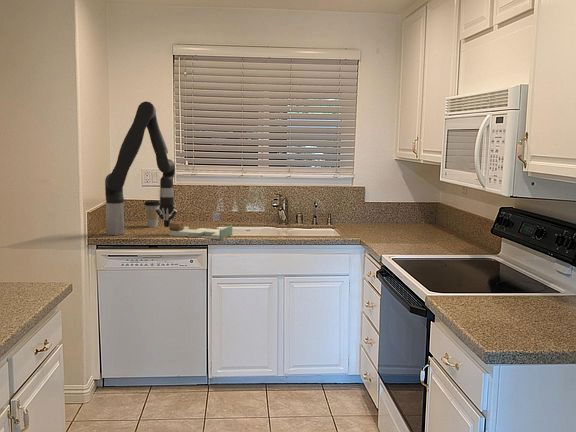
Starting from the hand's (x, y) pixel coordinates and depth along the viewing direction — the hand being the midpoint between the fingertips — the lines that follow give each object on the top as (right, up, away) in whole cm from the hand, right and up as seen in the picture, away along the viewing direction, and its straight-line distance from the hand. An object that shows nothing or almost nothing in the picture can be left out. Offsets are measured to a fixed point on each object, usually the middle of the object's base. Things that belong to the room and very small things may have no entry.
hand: (166, 226), depth 328 cm
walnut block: (+6, -2, -2) cm, 6 cm away
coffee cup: (-13, 0, +23) cm, 26 cm away
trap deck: (+18, -4, -1) cm, 19 cm away
